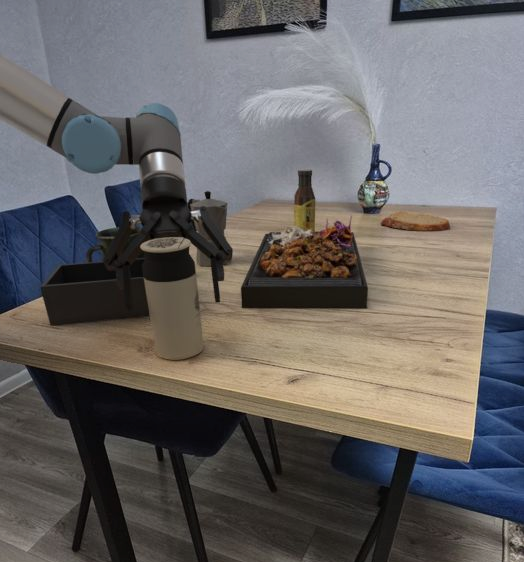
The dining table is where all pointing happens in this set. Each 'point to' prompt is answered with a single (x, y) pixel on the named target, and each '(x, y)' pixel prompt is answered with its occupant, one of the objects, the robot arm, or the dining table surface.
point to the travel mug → (172, 297)
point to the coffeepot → (218, 217)
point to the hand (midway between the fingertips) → (173, 303)
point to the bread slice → (416, 222)
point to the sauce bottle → (304, 202)
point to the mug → (106, 240)
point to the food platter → (306, 270)
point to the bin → (92, 293)
